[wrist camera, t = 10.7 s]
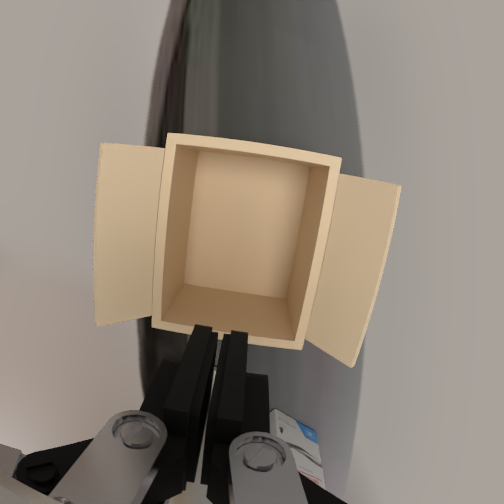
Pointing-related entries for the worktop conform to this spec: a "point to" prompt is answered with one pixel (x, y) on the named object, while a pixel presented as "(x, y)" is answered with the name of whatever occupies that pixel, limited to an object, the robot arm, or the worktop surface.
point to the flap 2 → (352, 265)
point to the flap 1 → (125, 231)
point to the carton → (241, 237)
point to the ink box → (299, 445)
